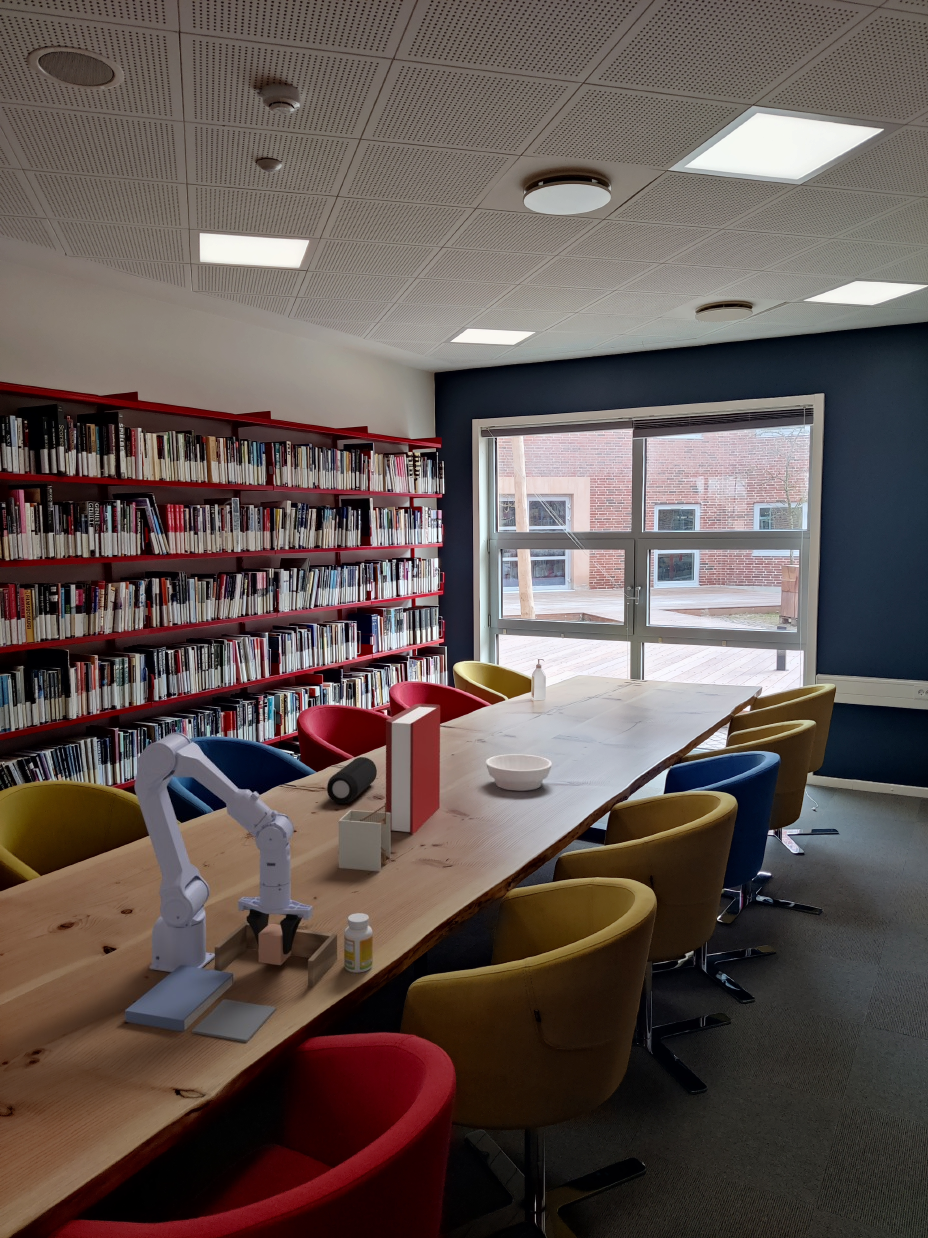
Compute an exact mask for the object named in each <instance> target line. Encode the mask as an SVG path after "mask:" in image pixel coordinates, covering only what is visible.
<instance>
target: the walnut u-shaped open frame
mask: <svg viewBox="0 0 928 1238" xmlns="http://www.w3.org/2000/svg"><path fill="white" fill-rule="evenodd" d="M246 950H252V951H258V952H259V948H258V944H257V941H256V938H255V935H254V932H253V930H252V928H251V927H250V925H249V923H248V922H247V921H243V922H242V923H241V924H240V925H239V926H238V927H236V928H235V929H234V930H233V931H231V932H230V933H229V934H228V935H226V937H224V938H223V939H222V940H221V941H220V942H219V943H217V944H216V945H215V946H214V954H215V957H214V970H216V971H223V972H224V970H225V969H226V968H228V966H230V964H231V963H233V962H234V961H235V960H236V959H237V958H238V957H239V956H241V955H242V954H243V953H244V952H245V951H246ZM290 956H293V957H299V958H307V959H308V960H307V987H308V988H314V987H315V986H316V985H317V984H318V983H319V981H320V980H321V979H322V978H323V977H324V976H325V975H326V973H327V972H328V971H329V970H330V968H331V967H332V966H333V965H334V964H335V963H336V962H337V960H338V934H336V933H330V932H322V931H314V930H308V929H298V928H297V931H296V933H295V936H294V940H293V944H292V949H291V955H290Z"/></svg>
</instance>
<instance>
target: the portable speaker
mask: <svg viewBox="0 0 928 1238" xmlns="http://www.w3.org/2000/svg"><path fill="white" fill-rule="evenodd" d="M377 773H378V771H377V766H376V764H375V762H374V761H373V760H372V759H370V758H368V757H366V756H365V757H364V756H358V757H356V758H354V759H353V760H352V761H351V762H349V763H348V764H346V765H345V766H344V767H342V768H341V769H340V770H339V771H337V772H336V773H334V774H333V775H332V776H331V777H330V778H329V780H328V782H327V786H326V791H327V795H328V798H330V800H331V801H332V802H334V803H337V804H340V805H341V804H342V805H345V804H349V803H351V802H352V801H354V799H356V798H357V797H358V796H360V794H361V793H362V792H363V791H365V790H366V789H368V787H369V786H370V785H372V783H374V781H375V780H376V778H377V775H378V774H377Z"/></svg>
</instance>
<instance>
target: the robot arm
mask: <svg viewBox="0 0 928 1238" xmlns="http://www.w3.org/2000/svg"><path fill="white" fill-rule="evenodd" d="M136 761H137V766H138V767H137V772H136V777H135V782H134V785H133V786H134V791H135V792H134V793H135V795H136V797H137V801H138V804H139V807H140V810H141V813H142V817H143V820H144V823H145V826H146V830H147V833H148V835H149V839H150V842H151V846H152V848H153V852H154V854H155V857H156V860H157V864H158V866H159V870H160V873H161V881H160V886H159V891H158V894H159V896H160V906H159V912H160V916H159V917H158V918H157V919H156V921H155V923H154V925H153V928H152V932H151V963H152V964H151V965H150V966H149V969H150V970H156V971H161V972H168V973H171V972H173V971H174V970H175V969H176V968H177V967H179V966H180V965H183V966H189V967H196V968H203V969H204V967H205V966H206V965H207V964H208V963H209V962H211V961H213V959H215V952H214V953H213V952H207V931H206V930H207V926H206V923H207V921H206V918H207V917H206V910H205V904H206V903H207V901H208V900H209V898H210V895H211V890H210V886H209V884H208V882H207V881H206V880H205V879H204V878H203V877H202V875H201V873H200V870H199V868H197V867H196V866H195V865H194V864H192V863H191V861H190V858H189V855H188V851H187V848H186V845H185V842H184V839H183V836H182V832H181V829H180V825H179V823H178V820H177V816H176V814H175V810H174V806H173V804H172V802H171V798H170V795H169V794H170V793H169V792H168V788H167V787H168V785H169V783H170V782H171V780H172V778H173V777H174V778H193V779H194V780H196V781H197V782H198V783H199V784H201V785H203V786H204V787H205V788H206V789H208V790H209V791H210V792H211V793H213V795H215V796H217V797H218V798H219V799H220V800H222V801H223V802H224V803H225V805H226V813H227V815H229V816H230V817H231V818H232V819H233V820H235V821H236V822H237V823H238V824H239V825H240V826H241V827H242V828H243V829H244V830H246V831H247V832H248V833H249V834H251V836H253V837H254V842H255V843H254V844H255V845H256V848H257V849H258V850H259V896H255V897H250V896H248V897H247V896H242V897H241V898H240V899H238V901H237V906H238V907H237V909H238V911H239V912H240V911H241V912H244V911H249V913H248V915H247V916H246V922H248V923H249V925H250V927H251V928H252V930H253V932H254V935H255V938H256V941H257V944H258V948H259V933H260V932H261V931H262V930H263V929H264V928H265V927H267V926H268V925H269V921H270V920H269V919H270V915H280V916H281V915H282V916H285V917H284V918H282V920H280V921H279V925H280V926H281V929H282V935H283V954H286V955H287V954H288V953H289V952H290V951H291V949H292V944H293V940H294V936H295V933H296V931H297V929H298V927H299V926H300V923H301V922H302V919H303V920H304V921H309V920H310V919H311V918H312V917H313V913H314V912H313V911H314V910H313V909H314V908H313V905H307V904H305V903H301V902H298V901H296V900H293V899H291V898H292V897H291V896H292V895H291V894H292V893H291V889H292V888H291V886H292V885H291V879H292V877H291V875H292V873H291V871H292V869H291V865H292V863H291V861H292V860H291V859H292V857H291V842H290V841H291V839H292V837H293V834H294V832H295V831H294V829H295V828H294V823H293V822H292V820H291V819H290V818H289V816H288V815H287V814H284V813H280V812H278V811H277V810H276V809H274V810H273V809H271V808H270V807H269V806H268V805H267V804H266V803H265V802H264V801H263V800H262V799H261V798H259V797H261V795H260V794H259V792H258V791H253V792H252V791H251V790H250V789H247V788H246V789H241V788H238V786H236V785H235V784H234V783H233V782H232V781H231V780H230V779H229V778H228V777H227V776H226V775H225V774H224V772H222V771H221V770H220V769H219V768H218V767H217V766H216V765H215V763H214V762H212V761H211V760H210V759H209V758H208V757H207V755H205V754H204V752H203V751H202V749H201V747H200V746H199V745H198V744H197V743H195V742H194V741H192V740H191V739H190V738H189V736H187V735H186V734H184V733H182V732H172V733H169V734H166V735H165V737H163V738H161V739H159V740H157V741H155V742H152V743H150V744H149V745H147V746H145V748H144V749H143V750H142V752H141V754H140V755H139V756H138V758H137V759H136Z"/></svg>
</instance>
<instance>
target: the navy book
mask: <svg viewBox="0 0 928 1238" xmlns="http://www.w3.org/2000/svg"><path fill="white" fill-rule="evenodd" d="M232 985H234V973H233V972H228V971H224V970H223V971H216V970H215V969H210V968H208V969H207V968H204V967H203V968H196V967H189V966H183V965H180V966H179V967H177V968H176V969H175V970H174V971H173V972H169V974H167V976H165V977H164V978H162V980H161V981H159V982H158V983H157V984H156V985H154V986H153V987H152V988H151V989H150V990H148V991H147V992H146V993H145V994H144V995H142V996H141V997H140V998H139V999H137V1000H136V1001H135V1002H134V1003H132V1004H131V1005H130V1006H129V1007H128V1008H126V1009H125V1010H124V1012H125V1013H124V1016H125V1017H124V1018H125V1020H124V1022H127V1023H131V1024H138V1025H142V1026H143V1025H144V1026H149V1027H155V1028H160V1029H166V1030H170V1031H171V1030H172V1031H176V1032H177V1031H178V1032H184V1031H186V1029H188V1028H189V1027H190V1026H191V1025H192V1024H193V1023H194V1022H195V1021H196V1020H197V1019H199V1017H200V1016H201V1015H202V1014H203V1013H204V1012H205V1011H207V1009H208V1008H209V1007H211V1006H212V1005H213V1004H214V1003H215V1002H216V1000H218V999H219V998H220V997H221V996H222V995H223V994H224V993H225V992H226V991H227V990H229V988H230V987H231V986H232Z"/></svg>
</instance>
